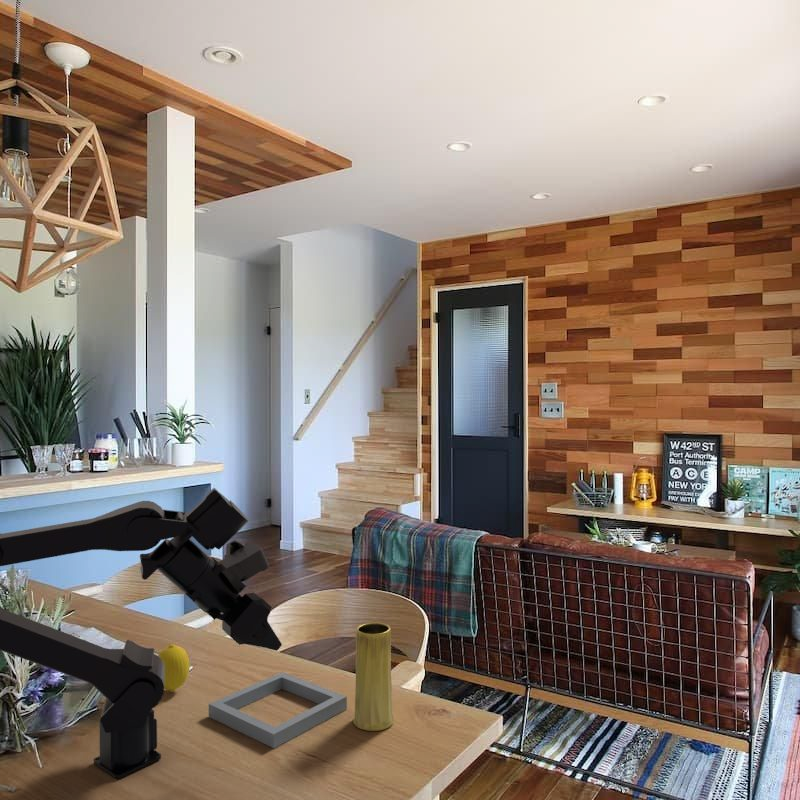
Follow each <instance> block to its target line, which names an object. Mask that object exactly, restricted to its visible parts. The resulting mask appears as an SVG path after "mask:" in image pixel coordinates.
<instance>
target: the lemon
mask: <svg viewBox="0 0 800 800" xmlns="http://www.w3.org/2000/svg"><path fill="white" fill-rule="evenodd" d="M157 656H159V657H160V658H161V659H162V661H163V663H164V666H165V683H164V690H168V691H169V692H170V693H174V692H176V690H177V689H179V688H181V687H182V686H183V685H184V684H185V683H186V681H187V679H188V677H189V674H190V667H191V666H190V665H191V664H190V659H189V656H188V653H187V651H186V650H185V649H184V648H183V647H181V646H179V645H175V644H174V643H171V644H169V645H168V646H166V647H164V648H163V649H162V650H161V651H160V652H159V653H158V655H157Z"/></svg>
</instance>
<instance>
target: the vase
mask: <svg viewBox="0 0 800 800" xmlns="http://www.w3.org/2000/svg"><path fill="white" fill-rule="evenodd" d="M391 630H392V629H391V626H390V625H388V624H387V623H384V622H366V623H362V624H360V625H358V626H357V627H356V631H355V633H356V635H355V636H356V637H355V694H354V695H355V697H354V699H355V700H354V716H353V724H354V726H356V728H358V729H359V730H362V731H366V732H381V731H384V730H386V729H389V728H390V727H391V726H392V725H393V723H394V722H395V718H394V714H393V700H392V699H393V697H392V696H393V695H392V694H393V692H392V691H393V690H392V667H391V665H392V663H391V662H392V661H391V660H392V659H391V656H392V654H391V653H392V652H391V651H392V648H391V647H392V644H391V643H392V640H391V639H392V631H391Z"/></svg>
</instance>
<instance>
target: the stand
mask: <svg viewBox="0 0 800 800" xmlns="http://www.w3.org/2000/svg"><path fill="white" fill-rule="evenodd" d="M280 689H281V690H284V691H286V692H288V693H291V694H293V695H296V696H298V697H300V698H303V699H306V700H308V701H310V702H312V703H315V704H317V705H315V706H313V707H311V708H309V709H307V710H306V711H305V710H304V711H303V712H301V713H299V714H297V715H295V716H293V717H291V718H289V719H288V720H285V721H284V722H281V723H279V724H278V725H276V726H274V725H271V724H270V723H267V722H265V721H263V720H260V719H258V718H256V717H254V716H252V715H249V714H247V713H245V712H243V711H241V710H239V709H241V708H243V707H245V706H247V705H249V704H252V703H254V702H257V701H259V700H261V699H263V698H265V697H267V696H270V695H272V694H274V693H276V692H279V691H281V690H280ZM347 697H348V696H346V695H345V694H341V693H338V692H336V691H334V690H331V689H328V688H326V687H323V686H320V685H318V684H315V683H313V682H311V681H308V680H305V679H302V678H299V677H297V676H295V675H294V676H293V675H291V674H289V673H286V672H283V671H282V672H279V673H277V674H274V675H272V676H269V677H267V678H265V679H263V680H260V681H258V682H256V683H254V684H250V685H249V686H247V687H245V688H242V689H239V690H238V691H235V692H233V693H230V694H228V695H226V696H223V697H221V698H219V699H217V700H214V701H212V702H210V703H208V718H210V719H212V720H215V721H216V722H219V723H221V724H223V725H224V726H227V727H229V728H231V729H232V730H236V731H237V732H239V733H242V734H243V735H245V736H247V737H249V738H251V739H254V740H255V741H258V742H260V743H261V744H263V745H265V746H268V747H270V748H272V749H276V748H277V747H279V746H281V745H283V744H284V743H286V742H288V741H291V740H293V739H294V738H296V737H297V736H300V735H301V734H303V733H305V732H308V731H309V730H311V729H313V728H314V727H317V726H318V725H320V724H322V723H323V722H326V721H328V720H330V718H333V717H335V716H337V715H339V714H340V713H342V712H344V711H346V710H347V709H348V699H347Z"/></svg>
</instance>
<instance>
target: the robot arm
mask: <svg viewBox="0 0 800 800" xmlns="http://www.w3.org/2000/svg"><path fill="white" fill-rule="evenodd" d="M248 522H250V520H249V519H248V517H247V516H246V514H244V513H243V512H242V510H241V509H240V508H239V507H238V506H237V505H236V504H235V503H234V501H232V500H229V499H228V498H227V497H225V495H223V494H222V493H221V492H220V491H218V490H217V488H215V487H214V488H212V489H211V490H209V492H207V493H206V495H205V496H204V497H203V499H202V500H201V501H200V502H199V503H198V504H197V505H195V507H193V508H192V509H191V510H190V511H189V512H185V511H176V510H170V509H163V507H161V506H160V505H159V504H157V502H156V503H155V502H154V501H151V500H141V501H138V502H134V503H132V504H128V505H125V506H122V507H119V508H116V509H114V510H112V511H110V512H106V513H105V514H104V513H103V514H101V515H98V516H96V517H94V518H88V519H82V520H78V521H77V520H75V521H69V522H65V523H64V522H63V523H58V524H53V525H46V526H40V527H35V528H28V529H23V530H16V531H9V532H5V533H0V567H5V566H9V565H16V564H22V563H27V562H31V561H38V560H42V559H49V558H54V557H59V556H61V557H62V556H65V555H70V554H76V553H77V554H78V553H81V552H88V551H96V550H97V551H99V550H101V551H103V550H105V551H113V552H141V551H142V552H143V551H149V550H151V549H153V548H154V550H152V551H151V552H148V553H140V554H139V559H140V569H139V570H140V574H141V578H142V580H143V581H144V580H147V579H149V577H151V575H153V574H154V573H155V572H156V571H158V572H160V573H161V574H162V575H163V576H164V577H165V578H166V579H167V580H169V581H170V582H171V583H172V584H173V585H174V586H175V587H176V588H178V589H179V590H180V591H182V593H184V594H185V595H186V596H187V597H188V598H189V599H190V600H191V601H192V602H193V603H194V604H195V606H198V608H199V609H200V610H202V611H203V613H206V614H207V615H208V616H209V617H211V618H212V619H213V620H216V619H217V620H219V621H221V622H222V626H221V628H222V630H223V631H224V633H226V634H227V636H229V637H230V638H231V639H232V640H233V641H235V643H237V644H238V645H239V646H241V645H249V646H254V647H259V648H264V649H268V650H272V651H279V650H280V648H281V647H282V645H283V644H282V642H281V640H280V639H279V638H278V636H277V634H276V633H275V631H274V629H273V628H272V626H271V624H270V623H269V621H268V619H269V616H270V613H271V611H272V605H270V604H269V603H268V602H267V601H265V600H264V598H262V597H261V596H259V595H258V594H257V593H255V592H248V593H244V594H243V595H241V594H240V593H241V592H243V590H244V589H245V588H246V587H247V585H245V583H244V582H245V581H248V580H250V579H251V578H252V577H254V576H256V575H257V574H259V573H261V572H265V571H266V570H268V569H269V568H270V563H269V562H268V560H267V557H266V555H265V553H264V550H263V549H262V546H260V545H258V544H257V543H255V542H247V541H246V542H245V545H244V544H242V543H241V542H239V541H238V540H237V539H233V540H231V539H232V538H233V537H234V536H235V535H236V534H237V533H238V532H239V531H241V530H242V528H243V527H244V526H246V525H247V524H248ZM191 538H194V540H195V541H197V543H198V544H199V545H201V546H202V547H203V548H204V549H205V550H207V551H209V550H210V549H211V551H213V550H214V549H215V548H216V549H217V550H220V549H222V548H223V547H224V546H225V545H226V552H225V554H224V556H223V559H221V560H219V561H218V560H216V559H215V558H214V557H213V556H212V557H210V556H209V555H208V554H207V553H206V552H205V551H204V550H203V549H202V548H201V547H199V545H197V544H196V543H195V542H194V541H193V540H192V539H191ZM169 539H170V540H169ZM230 540H231V541H230ZM161 541H162V542H161ZM229 541H230V542H229ZM160 542H161V543H160ZM159 543H160V544H159ZM157 545H158V546H157ZM0 651H2V652H4V653H6V654H9V655H12V656H14V657H17V658H20V659H23V660H26V661H28V662H31V663H34V664H37V665H40V666H41V667H45V668H47V669H51V670H53V671H55V672H58V673H61V674H63V675H66V676H69V677H72V678H75V679H78V680H80V681H83V682H86V683H88V684H90V685H92V687H94V688H95V689H96V690H97V691H98V692H99V693H100V694H101V695H102V696H103V697H105V699H104V703H103V708H102V710H101V715H100V719H99V721H98V723H99V727H98V728H99V738H98V739H99V756H97V757H95V758H93V764H94V765H95V766H97V767H99V768H100V769H102V770H103V771H104V772H106V773H107V774H109V775H110V776H112V777H114V778H115V779H121V778H123V777H125V776H128V775H130V774H132V773H134V772H136V771H138V770H140V769H143V768H145V767H146V766H148V765H151V764H152V763H155V762H157V761H159V760H161V758H162V753H160V752H159V751H157V749H158V720H157V718H155V710H154V708H155V707H156V706H157V705H158V704H159V703H160V701H161V700H162V698H163V695H164V693H165V689H164V683H165V666H164V663H163V661H162V659H161V658H160V657H159V656H158V655H157V654H156V653H155V648H154V647H152V648H151V647H150V648H149V647H144V646H142V645H139V644H138V643H136V642H134V641H132V640H130V639H127V640H126V641H125V644H124V647H123V648H107V647H106V648H105V647H103V646H101V645H98V644H95V643H93V642H90V641H88V640H84V639H82V638H80V637H77V636H76V635H75V636H74V635H71V634H69V633H68V632H67V633H66V632H63V631H61V630H58V629H57V628H53V627H51V626H48V625H45V624H43V623H40V622H37V621H35V620H32V619H30V618H27V617H25V616H22V615H19V614H17V613H14V612H12V611H9V610H6V609H5V608H4V607H2V606H1V605H0Z"/></svg>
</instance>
